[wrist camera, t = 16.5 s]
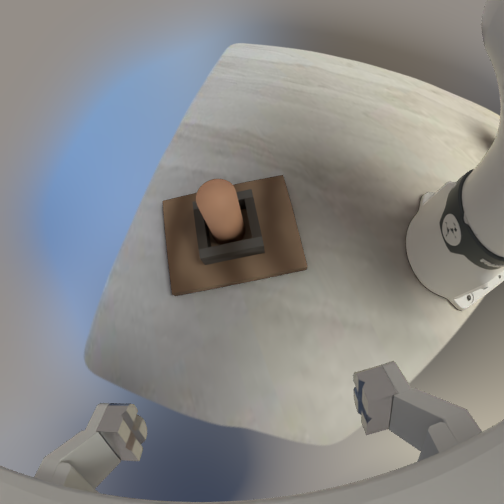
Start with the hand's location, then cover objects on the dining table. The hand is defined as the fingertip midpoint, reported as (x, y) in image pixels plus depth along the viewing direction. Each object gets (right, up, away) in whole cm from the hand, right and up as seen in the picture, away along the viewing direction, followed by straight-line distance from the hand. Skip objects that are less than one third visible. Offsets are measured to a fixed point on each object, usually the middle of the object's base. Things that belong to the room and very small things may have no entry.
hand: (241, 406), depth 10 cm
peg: (-3, +8, +33) cm, 34 cm away
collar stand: (-2, +8, +34) cm, 35 cm away
